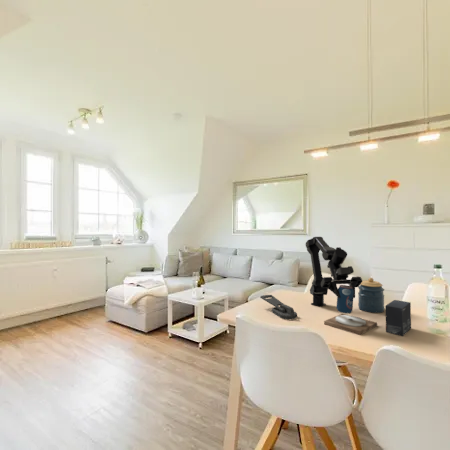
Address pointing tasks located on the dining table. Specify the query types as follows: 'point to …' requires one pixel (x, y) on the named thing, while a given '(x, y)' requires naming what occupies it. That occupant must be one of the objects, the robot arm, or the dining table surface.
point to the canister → (371, 296)
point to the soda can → (345, 299)
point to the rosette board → (351, 323)
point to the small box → (398, 317)
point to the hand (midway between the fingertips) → (347, 297)
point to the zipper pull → (280, 308)
